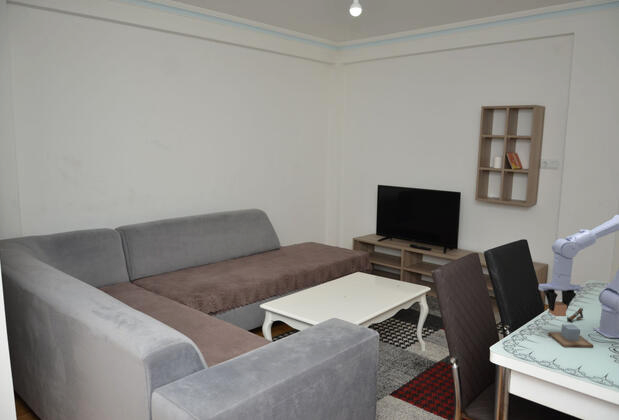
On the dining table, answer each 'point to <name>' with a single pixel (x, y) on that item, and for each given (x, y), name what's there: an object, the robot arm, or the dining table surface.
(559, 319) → the dining table surface
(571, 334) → the slate cube
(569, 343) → the walnut base plate
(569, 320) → the wooden post with brackets
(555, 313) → the terracotta cube
